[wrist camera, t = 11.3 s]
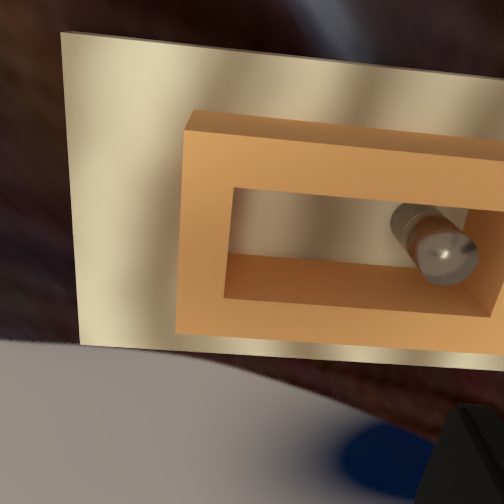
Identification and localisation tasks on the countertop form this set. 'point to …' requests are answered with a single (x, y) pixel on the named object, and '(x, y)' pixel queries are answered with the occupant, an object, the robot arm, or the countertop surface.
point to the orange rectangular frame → (328, 272)
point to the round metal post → (434, 243)
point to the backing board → (244, 200)
